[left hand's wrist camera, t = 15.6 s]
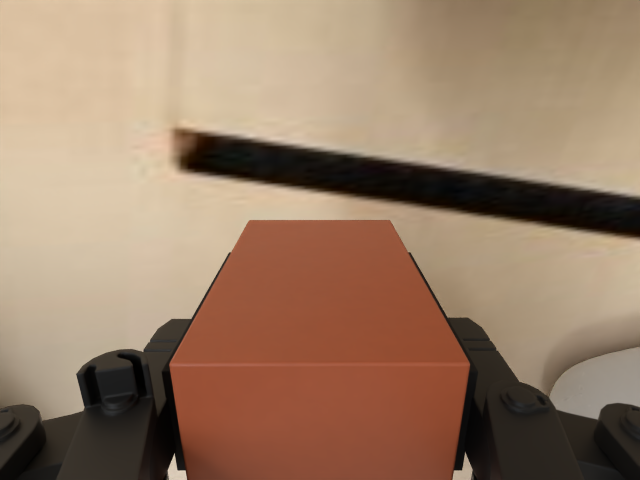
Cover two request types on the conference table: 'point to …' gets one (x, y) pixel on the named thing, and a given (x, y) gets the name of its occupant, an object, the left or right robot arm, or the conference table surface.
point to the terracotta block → (319, 361)
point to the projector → (599, 383)
